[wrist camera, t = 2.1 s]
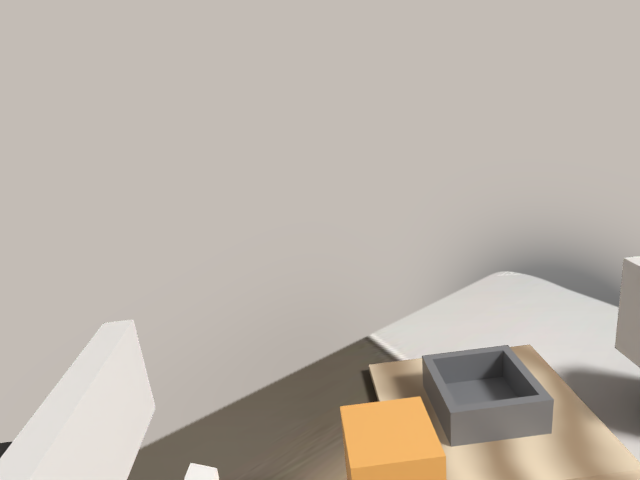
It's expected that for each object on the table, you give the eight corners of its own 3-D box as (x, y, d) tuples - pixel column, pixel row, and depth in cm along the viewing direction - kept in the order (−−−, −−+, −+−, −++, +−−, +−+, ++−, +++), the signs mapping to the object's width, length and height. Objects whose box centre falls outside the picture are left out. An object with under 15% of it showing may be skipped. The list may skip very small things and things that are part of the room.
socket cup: (451, 446, 40) (450, 412, 39) (423, 385, 48) (421, 355, 47) (551, 433, 40) (553, 399, 39) (506, 374, 49) (507, 345, 48)
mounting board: (409, 511, 36) (409, 500, 36) (369, 372, 53) (369, 364, 53) (643, 479, 36) (645, 468, 36) (529, 352, 54) (529, 344, 53)
